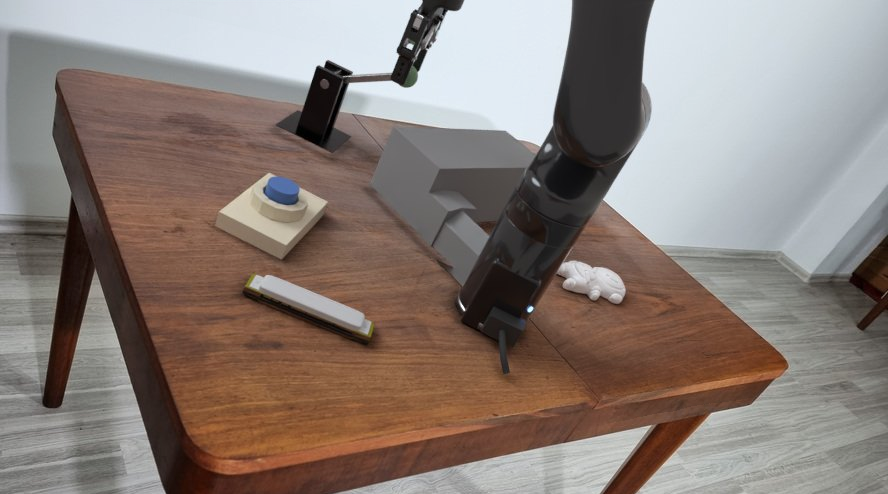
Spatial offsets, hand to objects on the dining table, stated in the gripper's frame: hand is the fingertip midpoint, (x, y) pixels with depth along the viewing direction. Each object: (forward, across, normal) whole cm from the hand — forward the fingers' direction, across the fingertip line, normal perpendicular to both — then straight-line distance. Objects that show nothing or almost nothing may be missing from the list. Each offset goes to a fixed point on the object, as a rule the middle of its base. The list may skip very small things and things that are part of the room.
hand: (404, 76), depth 105 cm
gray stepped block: (+16, -5, -19) cm, 25 cm away
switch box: (+15, -28, +4) cm, 32 cm away
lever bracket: (+16, 0, +10) cm, 19 cm away
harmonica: (+16, -42, -6) cm, 45 cm away
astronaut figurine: (+15, -4, -39) cm, 42 cm away
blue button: (+12, -28, +5) cm, 31 cm away
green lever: (+4, 0, +4) cm, 6 cm away
